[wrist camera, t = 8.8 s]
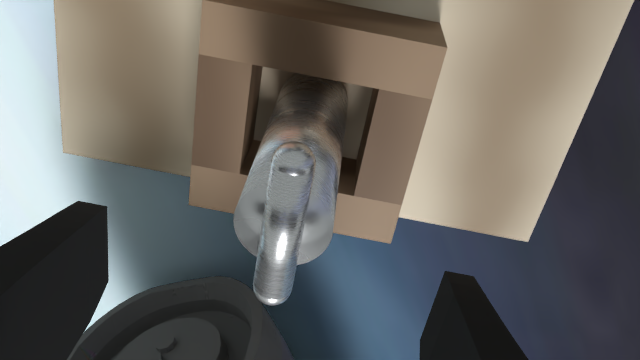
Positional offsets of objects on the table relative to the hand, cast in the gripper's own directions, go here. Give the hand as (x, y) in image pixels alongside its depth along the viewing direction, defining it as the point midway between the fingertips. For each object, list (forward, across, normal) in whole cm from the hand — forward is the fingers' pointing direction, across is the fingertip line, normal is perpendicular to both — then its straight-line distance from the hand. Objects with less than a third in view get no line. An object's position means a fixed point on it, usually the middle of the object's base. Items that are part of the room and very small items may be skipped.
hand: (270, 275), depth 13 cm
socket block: (+9, 0, 0) cm, 9 cm away
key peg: (+9, 0, 0) cm, 9 cm away
